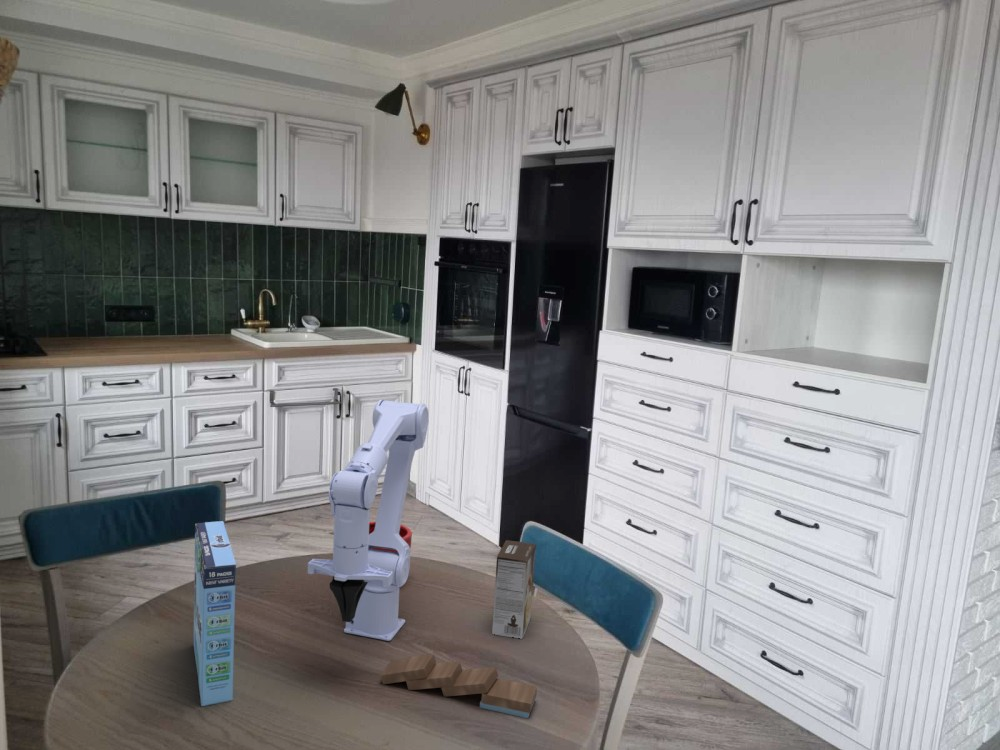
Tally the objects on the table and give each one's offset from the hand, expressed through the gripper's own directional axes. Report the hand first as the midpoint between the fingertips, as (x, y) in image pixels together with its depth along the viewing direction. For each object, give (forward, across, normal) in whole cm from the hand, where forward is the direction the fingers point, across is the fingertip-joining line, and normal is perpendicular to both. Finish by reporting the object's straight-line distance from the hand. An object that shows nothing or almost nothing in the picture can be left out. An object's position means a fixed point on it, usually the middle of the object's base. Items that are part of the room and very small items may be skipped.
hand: (348, 619), depth 121 cm
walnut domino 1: (+9, +7, +2) cm, 11 cm away
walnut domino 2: (+9, +11, +2) cm, 15 cm away
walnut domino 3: (+9, +18, +2) cm, 20 cm away
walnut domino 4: (+8, +24, +1) cm, 26 cm away
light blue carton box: (+10, -21, -7) cm, 24 cm away
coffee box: (+10, +23, +26) cm, 36 cm away
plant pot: (+10, -9, +35) cm, 38 cm away
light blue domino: (+10, +24, +1) cm, 26 cm away
